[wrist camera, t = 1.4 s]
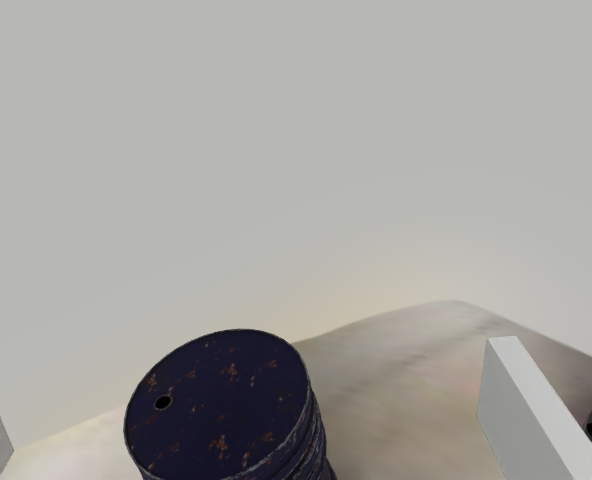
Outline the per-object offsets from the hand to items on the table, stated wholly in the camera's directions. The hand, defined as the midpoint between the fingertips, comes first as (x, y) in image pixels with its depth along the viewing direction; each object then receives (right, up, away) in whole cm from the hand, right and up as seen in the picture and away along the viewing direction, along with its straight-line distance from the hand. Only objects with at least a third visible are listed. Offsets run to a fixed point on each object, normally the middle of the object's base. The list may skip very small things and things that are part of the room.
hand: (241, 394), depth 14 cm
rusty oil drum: (0, -16, +21) cm, 26 cm away
